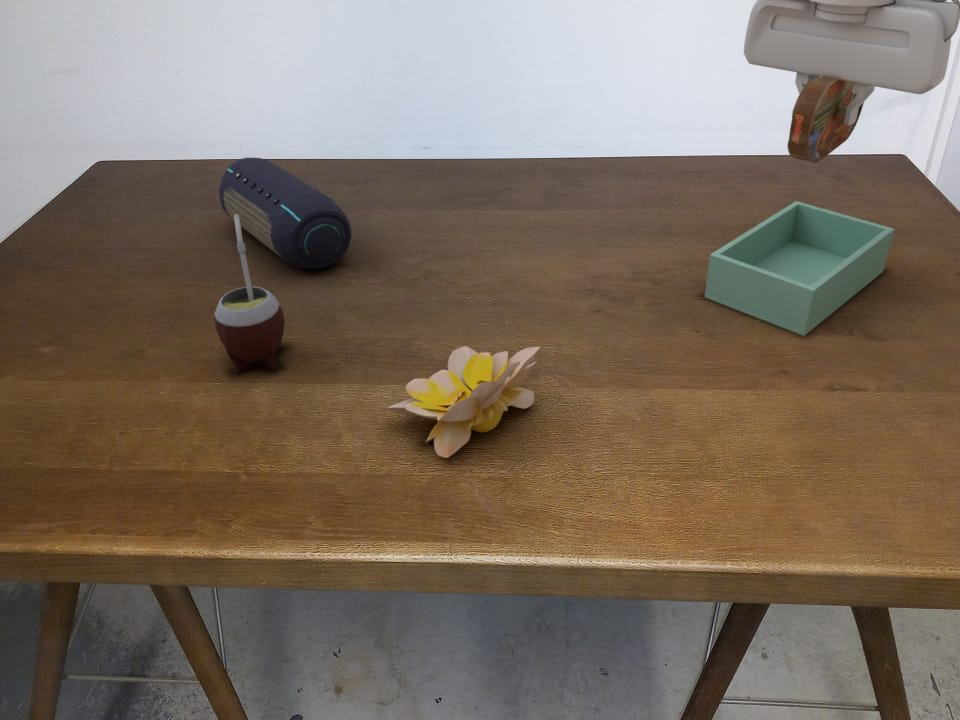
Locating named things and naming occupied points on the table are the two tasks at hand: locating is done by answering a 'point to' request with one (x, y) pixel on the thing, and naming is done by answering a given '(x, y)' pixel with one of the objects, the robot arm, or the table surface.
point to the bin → (798, 265)
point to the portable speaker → (285, 213)
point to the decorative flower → (469, 395)
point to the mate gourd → (249, 321)
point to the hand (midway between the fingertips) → (826, 119)
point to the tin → (820, 119)
